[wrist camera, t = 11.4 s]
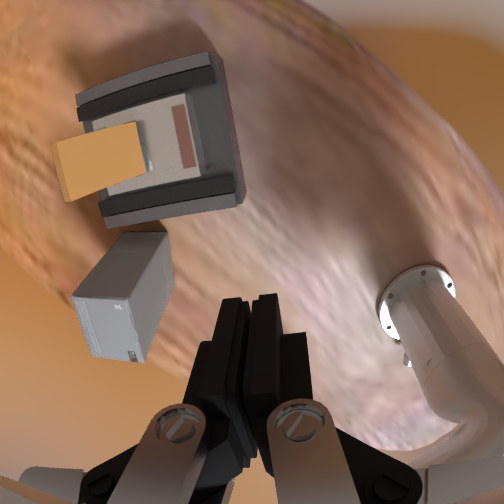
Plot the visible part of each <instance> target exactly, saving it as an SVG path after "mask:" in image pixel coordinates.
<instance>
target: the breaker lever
mask: <svg viewBox="0 0 504 504" xmlns="http://www.w3.org/2000/svg"><path fill="white" fill-rule="evenodd" d="M51 148H52V153H53V157H54V161H55V166H56V170H57V174H58V178H59V182H60V185H61V189H62V193H63V196H64V200H65V202H71V201H74V200H76V199H79V198H81V197H83V196H86V195H88V194H91V193H93V192H96V191H99V190H101V189H104V188H106V187H109V186H111V185H114V184H117V183H119V182H122V181H125V180H128V179H130V178H133V177H138V176H141V175H145V174H147V169H146V164H145V160H144V156H143V151H142V146H141V142H140V137H139V132H138V127H137V122H136V121H131V122H127V123H124V124H122V125H118V126H113V127H109V128H105V129H101V130H97V131H94V132H90V133H86V134H83V135H79V136H76V137H72V138H69V139H65V140H62V141H59V142H56V143H55V144H53V145H51Z"/></svg>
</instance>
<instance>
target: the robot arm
mask: <svg viewBox="0 0 504 504" xmlns="http://www.w3.org/2000/svg"><path fill="white" fill-rule="evenodd" d="M455 296H456V290H455V285H454V282H453V280H452V278H451V277H450V275H449V274H448V273H447V272H446V271H445V270H443V269H442V268H440V267H437V266H434V265H419V266H416V267H413V268H410V269H408V270H406V271H404V272H403V273H402V274H400V275H399V276H397V277H396V278H395V279H394V280H393V281H392V282H391V283H390V284H389V286H388V287H387V288H386V290H385V292H384V293H383V295H382V298H381V300H380V303H379V310H378V312H379V319H380V323H381V325H382V327H383V329H384V330H385V331H386V333H387V334H389V335H390V336H391V337H393V338H396V339H399V340H400V341H401V343H402V345H403V347H404V349H405V354H404V359H403V364H404V365H405V366H412V367H413V370H414V372H415V374H416V377H417V379H418V381H419V384H420V386H421V388H422V391H423V393H424V396H425V398H426V400H427V403H428V405H429V407H430V408H431V410H432V411H433V412H434V413H435V414H436V415H437V416H439V417H440V418H442V419H444V420H447V421H450V422H453V423H457V424H461V427H460V428H459V429H458V430H457V431H455V432H454V433H453V434H451V435H450V436H449V437H448V438H446V439H445V440H443V441H442V442H440V443H439V444H437V445H436V446H434V447H433V448H431V449H429V450H428V451H426V452H425V453H423V454H421V455H420V456H418V457H416V458H415V459H413V460H411V461H410V462H408V463H406V464H405V463H402V462H400V461H398V460H396V459H394V458H392V457H390V456H388V455H386V454H384V453H382V452H380V451H378V450H377V449H375V448H373V447H371V446H369V445H367V444H365V443H363V442H361V441H360V440H358V439H356V438H354V437H352V436H350V435H349V434H347V433H345V432H343V431H341V430H340V429H338V428H336V427H335V425H334V422H333V419H332V416H331V414H330V412H329V411H328V409H327V408H326V407H325V406H324V405H323V404H321V403H320V402H317V401H315V400H313V394H312V384H311V374H310V365H309V356H308V347H307V338H306V332H301V333H292V334H283V328H282V321H281V315H280V308H279V301H278V295H277V293H274V294H265V295H259V300H253V302H252V311H250V306H249V303H248V301H243V302H242V299H241V297H237V298H228V299H223V300H222V303H221V307H220V311H219V315H218V319H217V322H216V326H215V330H214V334H213V338H212V341H202V342H201V343H200V345H199V348H198V351H197V355H196V358H195V361H194V365H193V368H192V371H191V375H190V378H189V382H188V385H187V388H186V392H185V395H184V399H183V402H182V404H175V405H170V406H168V407H166V408H164V409H162V410H161V411H159V412H158V413H157V414H156V415H155V416H154V417H153V419H152V420H151V422H150V424H149V425H148V427H147V429H146V431H145V433H144V435H143V436H142V439H141V440H140V442H139V443H138V444H137V445H135V446H133V447H131V448H130V449H128V450H126V451H124V452H123V453H121V454H119V455H117V456H115V457H114V458H111V459H110V460H108V461H106V462H104V463H102V464H100V465H98V466H96V467H95V468H93V469H91V470H90V471H89V472H85V471H84V470H83V469H63V468H49V467H48V468H47V467H37V466H36V467H30V468H28V469H26V470H25V471H24V472H23V473H22V474H21V476H20V478H19V481H15V480H13V479H10V478H7V477H3V476H0V504H228V503H229V500H230V496H231V493H232V490H233V487H234V480H235V479H234V478H235V477H236V476H238V475H239V474H240V473H242V470H243V468H249V467H250V458H256V457H257V450H258V449H259V452H260V455H261V458H262V461H263V464H264V467H265V470H266V472H267V473H269V474H270V475H271V476H272V477H274V479H275V485H276V492H277V498H278V504H504V364H503V363H502V361H501V360H500V359H499V357H498V356H497V354H496V353H495V352H494V350H493V349H492V347H491V346H490V344H489V343H488V342H487V340H486V339H485V337H484V336H483V335H482V333H481V332H480V331H479V329H478V328H477V327H476V325H475V324H474V323H473V321H472V320H471V319H470V317H469V316H468V315H467V313H466V312H465V311H464V309H463V308H462V307H461V306H460V304H459V303H458V302H457V301H456V299H455Z"/></svg>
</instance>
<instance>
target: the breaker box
mask: <svg viewBox="0 0 504 504" xmlns="http://www.w3.org/2000/svg"><path fill="white" fill-rule="evenodd" d="M75 97H76V103H77V106H80V107H78V108H77V114H78V119H79V122H80V121H83V125H84V130H85V134H86V133H90V132H94V131H97V130H101V129H105V128H109V127H113V126H118V125H122V124H124V123H127V122H131V121H136V122H137V127H138V132H139V137H140V142H141V146H142V151H143V156H144V160H145V164H146V169H147V174H145V175H141V176H138V177H133V178H130V179H128V180H125V181H122V182H119V183H117V184H114V185H111V186H109V187H106V188H104V189H101V190H99V193H100V197H101V202H99V203H98V204H99V208H100V211H101V215H102V217H103V216H105V217H104V222H105V225H106V228H107V229H111V228H116V227H121V226H127V225H132V224H137V223H143V222H148V221H154V220H159V219H165V218H171V217H177V216H183V215H189V214H195V213H201V212H207V211H213V210H220V209H226V208H233V207H237V204H242V203H243V201H244V198H245V195H246V186H245V181H244V175H243V169H242V164H241V158H240V153H239V147H238V142H237V136H236V131H235V125H234V119H233V114H232V108H231V103H230V97H229V92H228V87H227V81H226V76H225V70H224V65H223V60H222V59H221V58H220V57H219V56H218V55H217V53H216V52H213V53H209V52H208V51H207V52H203V53H198V54H194V55H190V56H186V57H182V58H178V59H175V60H171V61H168V62H164V63H161V64H157V65H154V66H151V67H147V68H144V69H141V70H138V71H135V72H132V73H129V74H126V75H124V76H121V77H118V78H115V79H113V80H110V81H107V82H105V83H102V84H100V85H97V86H95V87H92V88H90V89H87V90H85V91H82V92H80V93H78V94H76V95H75Z"/></svg>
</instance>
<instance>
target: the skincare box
mask: <svg viewBox="0 0 504 504" xmlns="http://www.w3.org/2000/svg"><path fill="white" fill-rule="evenodd" d="M174 285H175V281H174V274H173V267H172V259H171V252H170V244H169V236H168V232H124V233H123V234H122V236H121V237H120V238H119V239H118V240H117V241H116V242H115V243H114V245H113V246H112V247H111V248H110V249H109V250H108V252H107V253H106V254H105V255H104V256H103V257H102V259H101V260H100V261H99V262H98V263H97V265H96V266H95V267H94V268H93V269H92V271H91V272H90V273H89V274H88V275H87V277H86V278H85V279H84V280H83V281H82V283H81V284H80V285H79V287H78V288H77V289H76V290H75V291H74V293H73V294H72V295H71V298H72V301H73V304H74V307H75V310H76V313H77V316H78V319H79V322H80V325H81V328H82V331H83V334H84V336H85V339H86V342H87V344H88V347H89V349H90V352H91V355H92V356H95V357H101V358H109V359H116V360H123V361H132V362H139V363H144V361H145V359H146V356H147V354H148V351H149V348H150V346H151V343H152V340H153V338H154V335H155V333H156V330H157V327H158V325H159V322H160V319H161V317H162V314H163V312H164V310H165V307H166V305H167V302H168V300H169V297H170V295H171V292H172V290H173V288H174Z"/></svg>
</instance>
